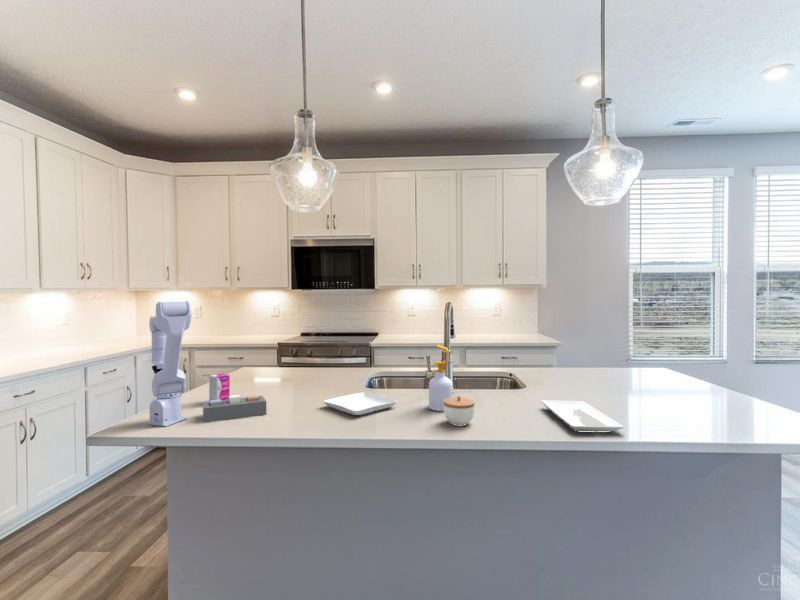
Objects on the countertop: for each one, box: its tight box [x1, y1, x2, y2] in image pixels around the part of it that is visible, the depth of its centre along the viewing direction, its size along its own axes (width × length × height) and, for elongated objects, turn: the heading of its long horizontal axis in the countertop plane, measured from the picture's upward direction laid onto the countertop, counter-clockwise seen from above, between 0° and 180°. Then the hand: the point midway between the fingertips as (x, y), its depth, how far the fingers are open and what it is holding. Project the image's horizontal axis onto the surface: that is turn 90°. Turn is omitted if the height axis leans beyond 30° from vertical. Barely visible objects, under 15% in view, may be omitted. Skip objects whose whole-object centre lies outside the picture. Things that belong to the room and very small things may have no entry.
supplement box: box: [208, 373, 231, 402], centre depth 176 cm, size 6×6×12 cm
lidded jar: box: [443, 395, 476, 425], centre depth 150 cm, size 11×11×9 cm
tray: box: [540, 399, 624, 432], centre depth 153 cm, size 17×31×4 cm, turn 0°
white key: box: [229, 394, 241, 404], centre depth 159 cm, size 4×4×4 cm
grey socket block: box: [202, 395, 267, 423], centre depth 159 cm, size 21×9×5 cm, turn 117°
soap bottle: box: [428, 344, 453, 412], centre depth 168 cm, size 9×9×25 cm
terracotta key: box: [246, 394, 259, 402], centre depth 162 cm, size 4×4×4 cm
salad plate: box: [323, 391, 398, 416], centre depth 169 cm, size 21×21×3 cm
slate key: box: [210, 399, 222, 406], centre depth 157 cm, size 4×4×4 cm
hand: (161, 384), depth 164 cm, fingers closed
